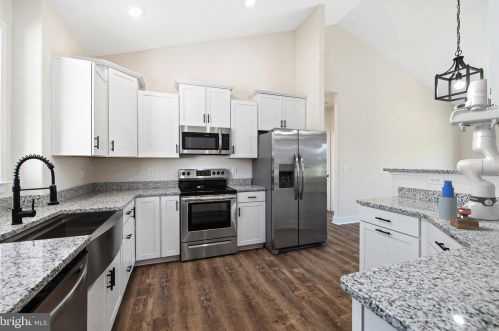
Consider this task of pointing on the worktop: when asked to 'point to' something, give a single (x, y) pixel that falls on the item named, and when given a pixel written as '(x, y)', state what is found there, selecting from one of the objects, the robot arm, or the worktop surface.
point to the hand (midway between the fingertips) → (476, 129)
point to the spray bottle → (447, 201)
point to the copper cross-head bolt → (463, 213)
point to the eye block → (464, 223)
